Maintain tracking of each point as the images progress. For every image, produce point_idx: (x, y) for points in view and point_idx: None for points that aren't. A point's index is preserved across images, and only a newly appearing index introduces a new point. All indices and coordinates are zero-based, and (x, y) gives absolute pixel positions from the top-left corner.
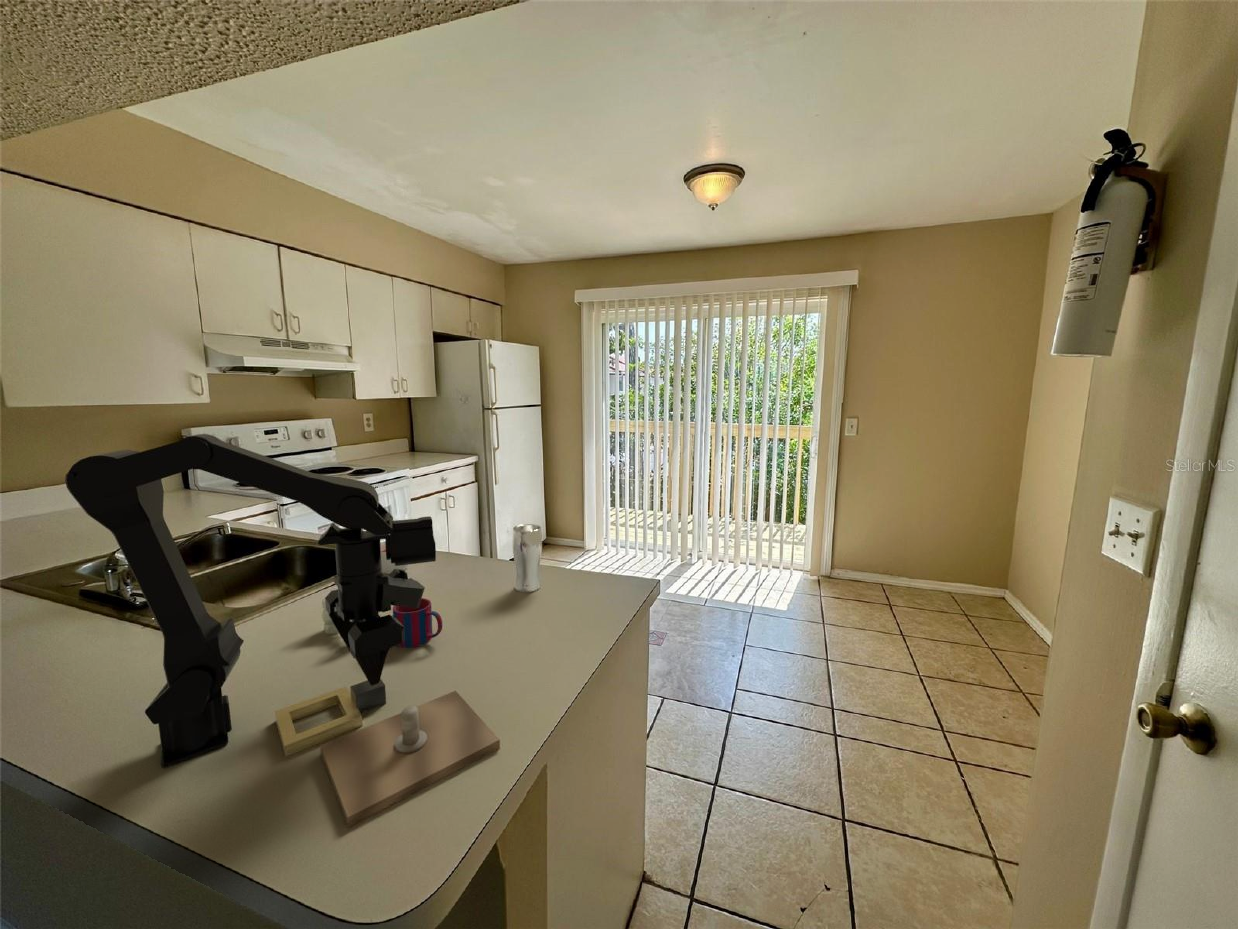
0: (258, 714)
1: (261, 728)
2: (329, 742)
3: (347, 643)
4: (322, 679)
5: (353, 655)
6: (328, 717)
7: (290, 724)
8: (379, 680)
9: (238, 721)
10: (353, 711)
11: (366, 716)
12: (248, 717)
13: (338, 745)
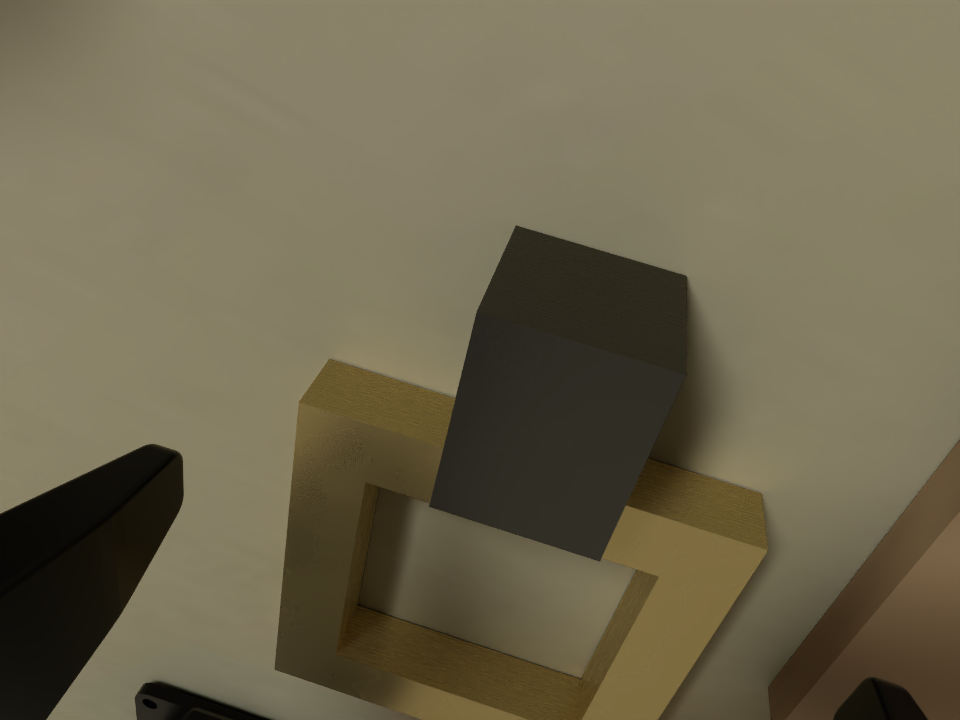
0: (185, 617)
1: None
2: (794, 711)
3: (43, 717)
4: (17, 329)
5: (158, 536)
6: None
7: (458, 703)
8: (923, 716)
9: (187, 662)
10: (659, 541)
11: (691, 428)
12: (182, 639)
13: None
